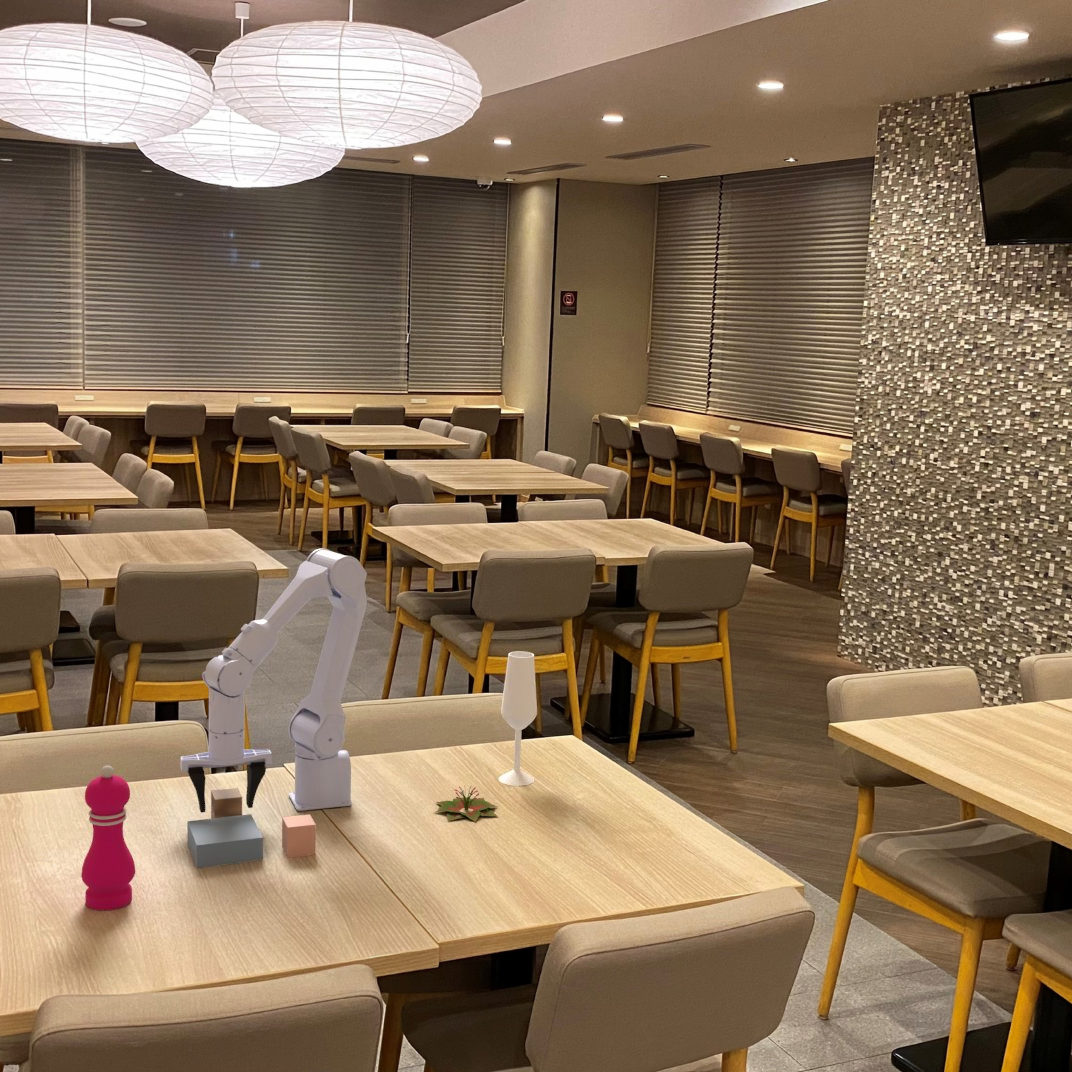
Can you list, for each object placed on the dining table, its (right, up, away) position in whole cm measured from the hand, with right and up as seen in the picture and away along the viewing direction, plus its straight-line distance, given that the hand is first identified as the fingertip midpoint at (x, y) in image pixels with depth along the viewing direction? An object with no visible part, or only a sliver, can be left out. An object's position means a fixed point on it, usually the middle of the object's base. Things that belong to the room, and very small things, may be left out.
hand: (226, 808), depth 208 cm
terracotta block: (+14, -5, -10) cm, 18 cm away
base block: (+3, -5, -11) cm, 12 cm away
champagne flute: (+48, -1, +26) cm, 54 cm away
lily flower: (+39, -3, +10) cm, 41 cm away
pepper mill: (-9, -7, -30) cm, 32 cm away
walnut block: (0, -3, 0) cm, 3 cm away
